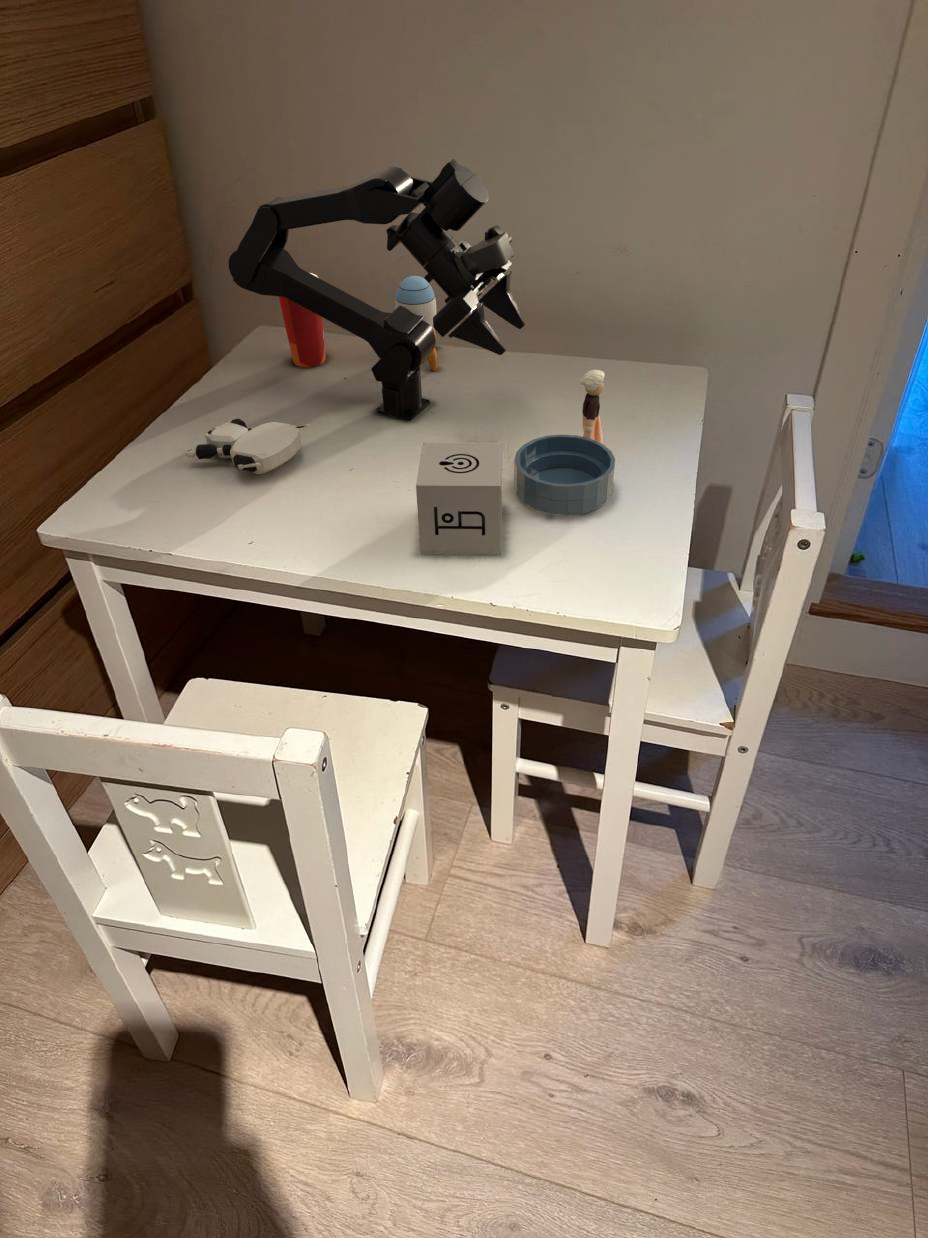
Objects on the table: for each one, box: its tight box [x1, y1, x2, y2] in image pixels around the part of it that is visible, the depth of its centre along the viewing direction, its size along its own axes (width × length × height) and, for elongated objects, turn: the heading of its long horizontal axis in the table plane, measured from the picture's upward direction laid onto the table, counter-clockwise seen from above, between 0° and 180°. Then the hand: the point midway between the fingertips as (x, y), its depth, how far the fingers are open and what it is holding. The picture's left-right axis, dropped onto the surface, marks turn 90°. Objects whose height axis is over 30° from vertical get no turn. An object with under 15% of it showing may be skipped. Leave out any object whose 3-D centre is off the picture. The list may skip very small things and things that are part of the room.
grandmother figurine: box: [579, 369, 606, 445], centre depth 125 cm, size 8×4×13 cm, turn 5°
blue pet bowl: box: [513, 434, 616, 516], centre depth 119 cm, size 13×13×5 cm
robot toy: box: [185, 418, 311, 475], centre depth 128 cm, size 12×4×15 cm
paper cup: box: [278, 272, 326, 368], centre depth 150 cm, size 8×8×14 cm
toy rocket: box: [394, 275, 438, 372], centre depth 149 cm, size 10×11×15 cm
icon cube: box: [415, 442, 503, 556], centre depth 111 cm, size 10×10×10 cm
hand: (513, 339), depth 127 cm, fingers open, 9 cm apart
